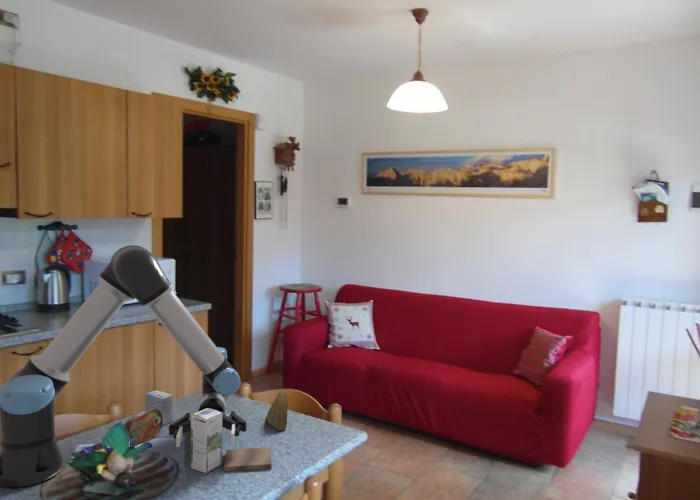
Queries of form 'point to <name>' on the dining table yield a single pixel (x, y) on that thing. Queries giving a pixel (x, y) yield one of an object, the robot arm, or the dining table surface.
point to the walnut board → (248, 459)
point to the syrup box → (206, 440)
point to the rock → (278, 412)
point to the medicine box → (161, 404)
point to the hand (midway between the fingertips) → (205, 440)
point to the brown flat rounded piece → (144, 426)
